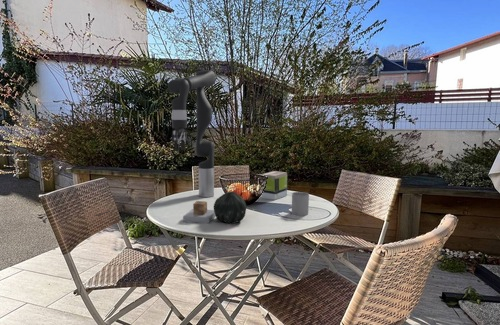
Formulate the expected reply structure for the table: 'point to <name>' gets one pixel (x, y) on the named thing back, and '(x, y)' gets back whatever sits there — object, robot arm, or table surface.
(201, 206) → the walnut cube
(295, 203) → the cup
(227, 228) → the table surface
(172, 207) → the table surface
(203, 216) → the stone coaster
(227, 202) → the squash
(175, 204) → the table surface
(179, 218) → the table surface
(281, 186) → the tea box
